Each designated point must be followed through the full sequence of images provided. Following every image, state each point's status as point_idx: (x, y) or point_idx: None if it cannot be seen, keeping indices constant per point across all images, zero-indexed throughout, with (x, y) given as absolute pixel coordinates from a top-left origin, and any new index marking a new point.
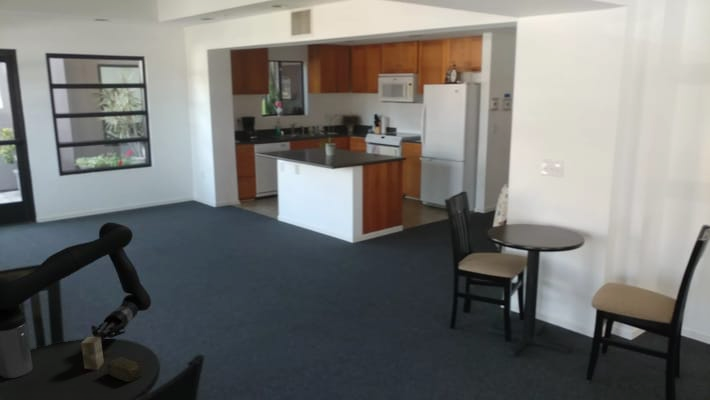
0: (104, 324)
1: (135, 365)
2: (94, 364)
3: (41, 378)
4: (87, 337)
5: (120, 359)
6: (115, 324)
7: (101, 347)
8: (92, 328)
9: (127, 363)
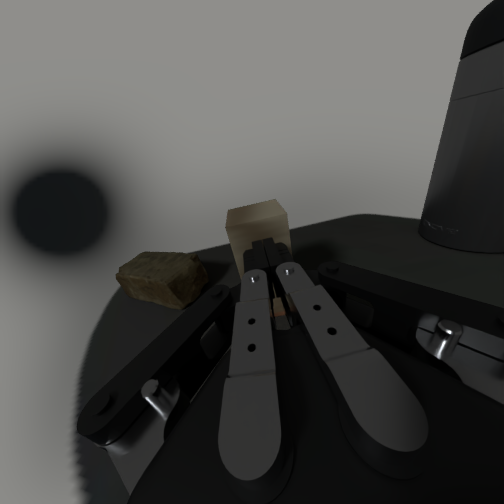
0: (354, 355)
1: (125, 265)
2: None
3: (357, 240)
4: (284, 211)
5: (164, 271)
6: (224, 498)
7: (238, 269)
8: (423, 287)
9: (143, 264)
